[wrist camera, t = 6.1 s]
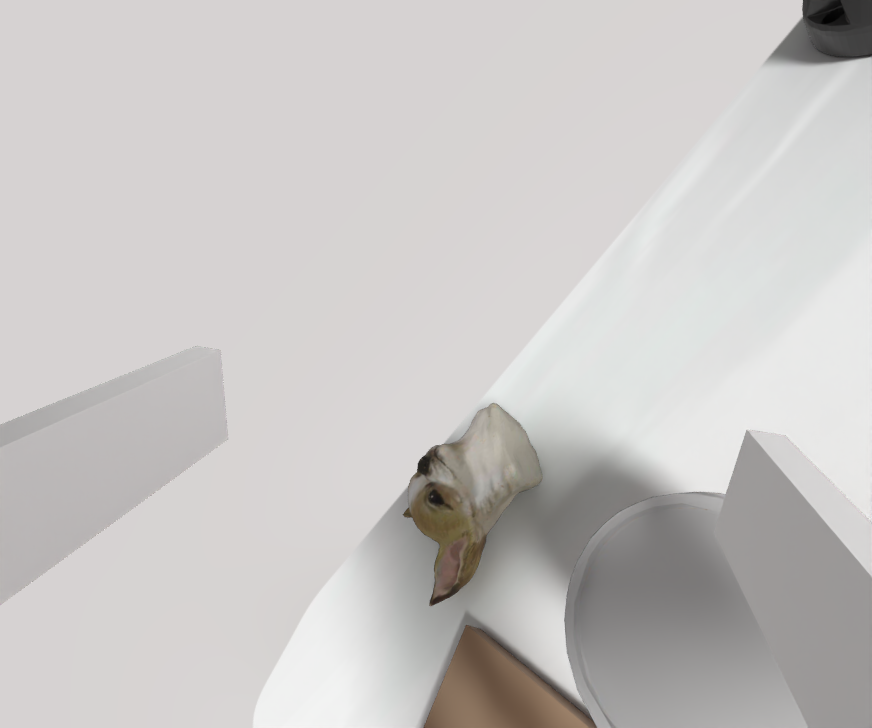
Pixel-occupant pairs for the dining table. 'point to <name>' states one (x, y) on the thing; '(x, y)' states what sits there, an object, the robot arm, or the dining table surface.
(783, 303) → the dining table surface
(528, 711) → the walnut board
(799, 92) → the dining table surface
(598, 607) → the disposable coffee cup
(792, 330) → the dining table surface
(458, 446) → the ceramic sculpture
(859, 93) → the dining table surface
